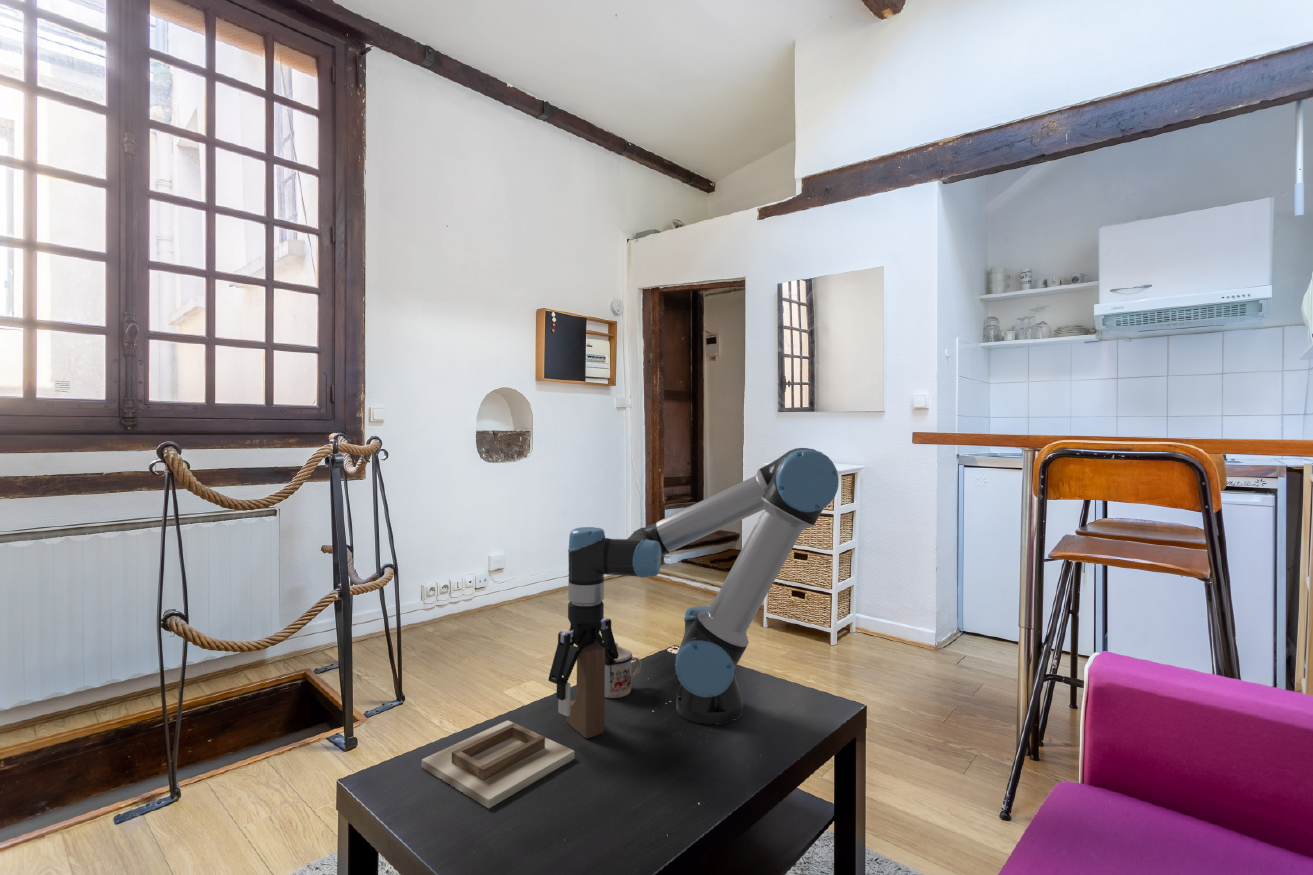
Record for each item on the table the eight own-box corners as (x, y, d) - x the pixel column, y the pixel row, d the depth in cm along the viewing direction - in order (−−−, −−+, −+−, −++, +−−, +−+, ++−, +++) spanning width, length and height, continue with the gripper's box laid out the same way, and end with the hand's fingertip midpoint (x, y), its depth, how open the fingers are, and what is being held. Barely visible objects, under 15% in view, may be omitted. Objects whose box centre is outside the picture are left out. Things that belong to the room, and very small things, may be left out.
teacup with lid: (604, 702, 143) (604, 652, 143) (588, 687, 151) (589, 640, 151) (649, 692, 149) (649, 644, 149) (632, 678, 157) (632, 633, 157)
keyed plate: (574, 758, 118) (574, 740, 118) (488, 808, 102) (488, 787, 102) (507, 727, 130) (507, 710, 130) (421, 767, 115) (421, 748, 115)
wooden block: (565, 722, 133) (566, 639, 132) (583, 717, 135) (584, 635, 135) (586, 739, 125) (586, 652, 125) (604, 733, 128) (605, 647, 128)
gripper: (610, 587, 142) (609, 681, 142) (530, 610, 123) (529, 718, 123) (635, 592, 137) (634, 689, 137) (556, 617, 118) (555, 730, 119)
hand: (584, 703), depth 130 cm, fingers open, 11 cm apart
